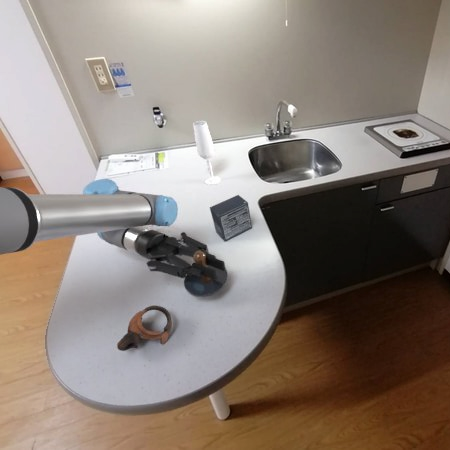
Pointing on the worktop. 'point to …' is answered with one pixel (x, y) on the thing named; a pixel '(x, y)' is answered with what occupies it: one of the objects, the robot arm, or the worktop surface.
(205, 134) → the champagne flute
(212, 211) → the small box
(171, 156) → the worktop surface
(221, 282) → the lid
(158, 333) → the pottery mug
